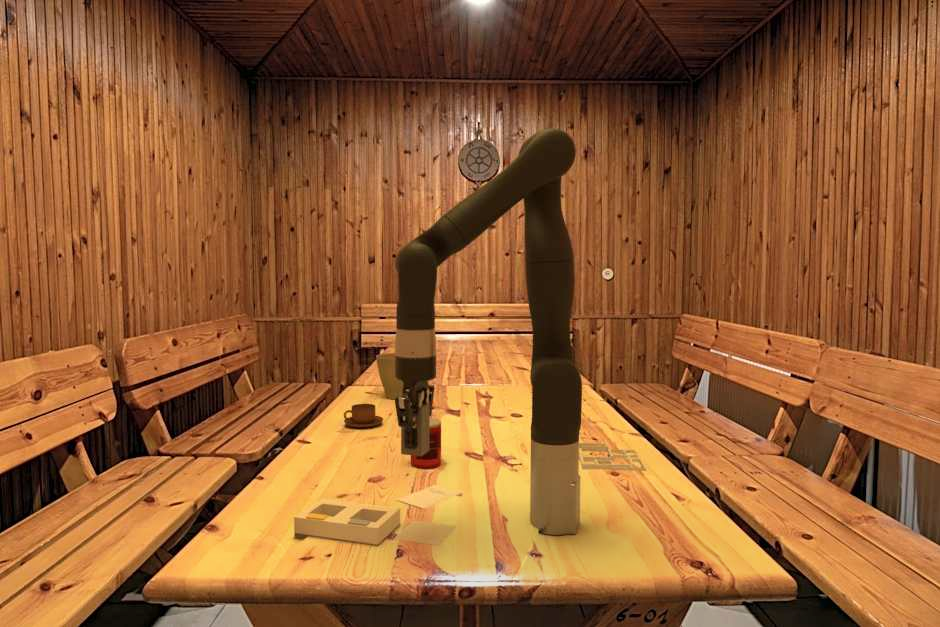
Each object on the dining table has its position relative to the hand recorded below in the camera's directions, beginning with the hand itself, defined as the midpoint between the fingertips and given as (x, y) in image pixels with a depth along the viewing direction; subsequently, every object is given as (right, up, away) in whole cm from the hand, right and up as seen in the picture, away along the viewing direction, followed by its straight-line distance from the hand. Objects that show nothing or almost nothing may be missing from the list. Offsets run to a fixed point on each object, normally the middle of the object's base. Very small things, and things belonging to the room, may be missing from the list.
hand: (415, 444), depth 123 cm
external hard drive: (+1, -17, +20) cm, 26 cm away
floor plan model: (+42, -14, +50) cm, 67 cm away
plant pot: (-17, -7, +125) cm, 127 cm away
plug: (0, -1, 0) cm, 1 cm away
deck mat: (+2, -17, +1) cm, 18 cm away
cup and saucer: (-23, -11, +85) cm, 88 cm away
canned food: (-1, -14, +45) cm, 47 cm away
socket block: (-13, -17, +3) cm, 22 cm away
